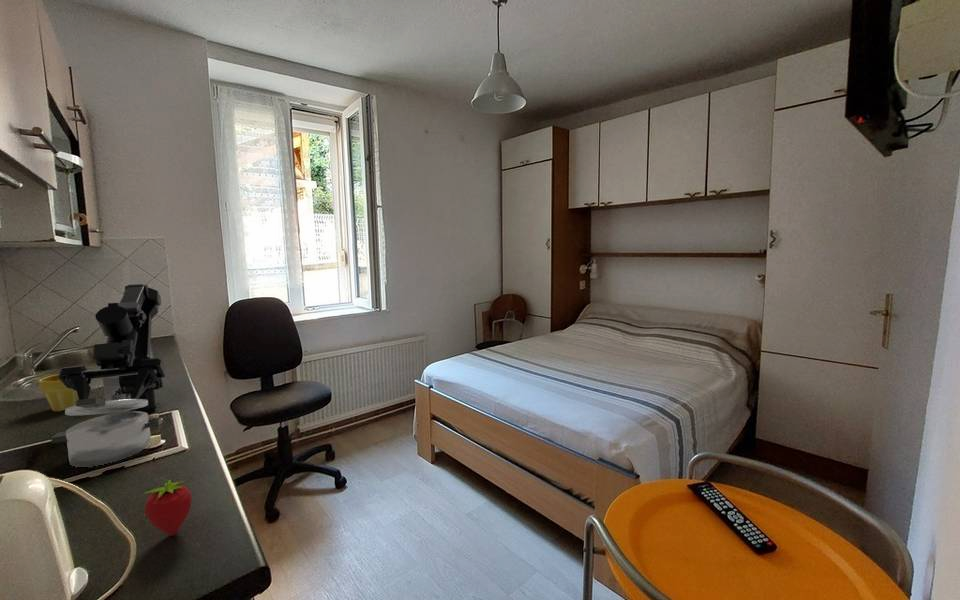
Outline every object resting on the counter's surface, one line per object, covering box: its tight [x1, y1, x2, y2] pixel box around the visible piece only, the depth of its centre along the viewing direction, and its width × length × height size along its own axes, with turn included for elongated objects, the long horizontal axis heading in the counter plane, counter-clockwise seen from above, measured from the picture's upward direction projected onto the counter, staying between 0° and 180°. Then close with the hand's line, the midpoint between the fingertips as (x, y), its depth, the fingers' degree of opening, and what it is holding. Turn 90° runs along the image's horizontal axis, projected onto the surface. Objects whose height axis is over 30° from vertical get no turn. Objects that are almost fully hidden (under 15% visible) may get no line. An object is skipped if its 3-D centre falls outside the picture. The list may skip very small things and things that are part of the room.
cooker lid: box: [64, 396, 148, 416], centre depth 91 cm, size 19×14×2 cm
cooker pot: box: [50, 411, 163, 468], centre depth 93 cm, size 14×19×7 cm
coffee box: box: [101, 376, 130, 401], centre depth 131 cm, size 9×6×16 cm
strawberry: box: [143, 476, 193, 537], centre depth 64 cm, size 6×8×10 cm
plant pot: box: [38, 373, 79, 412], centre depth 123 cm, size 10×10×10 cm
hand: (109, 404), depth 94 cm, fingers open, 9 cm apart
